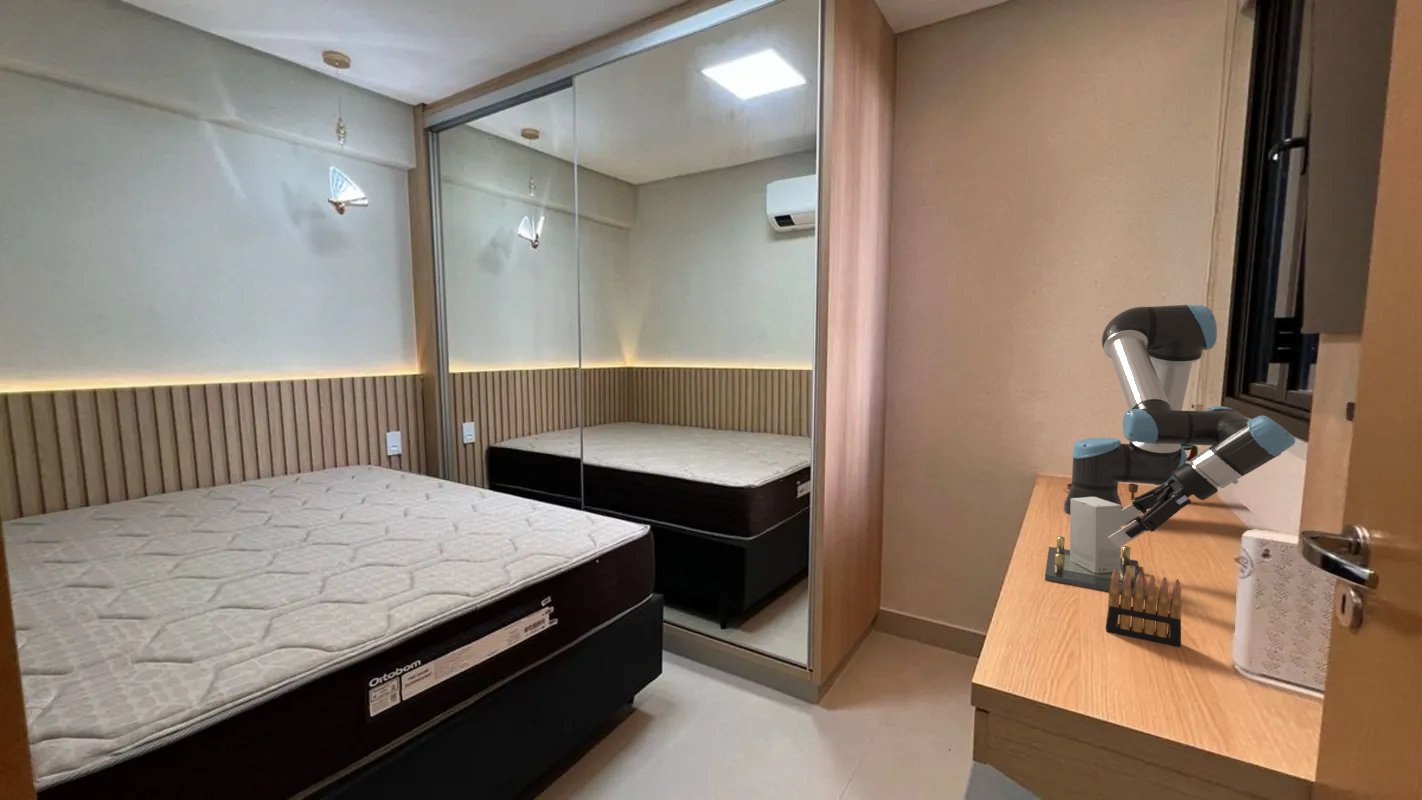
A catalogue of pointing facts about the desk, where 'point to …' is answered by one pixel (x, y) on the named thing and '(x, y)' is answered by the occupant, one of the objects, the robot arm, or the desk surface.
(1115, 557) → the skincare box
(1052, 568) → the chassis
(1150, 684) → the desk surface
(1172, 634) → the ammunition clip
